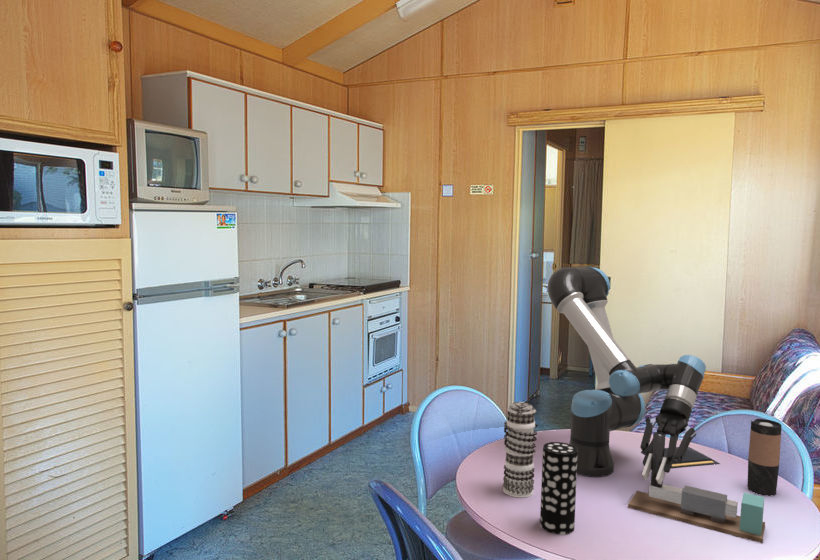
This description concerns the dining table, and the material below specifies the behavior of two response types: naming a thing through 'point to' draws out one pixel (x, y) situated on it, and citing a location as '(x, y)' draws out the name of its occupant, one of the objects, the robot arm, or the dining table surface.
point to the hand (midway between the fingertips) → (651, 479)
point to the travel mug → (764, 456)
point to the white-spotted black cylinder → (558, 487)
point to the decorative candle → (519, 450)
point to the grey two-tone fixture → (669, 491)
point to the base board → (673, 511)
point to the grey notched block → (703, 503)
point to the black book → (691, 459)
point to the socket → (752, 513)
